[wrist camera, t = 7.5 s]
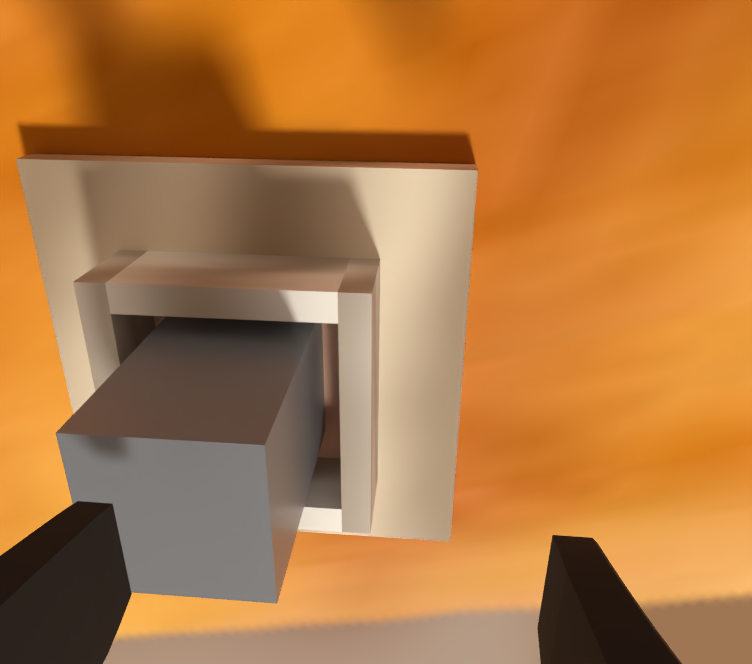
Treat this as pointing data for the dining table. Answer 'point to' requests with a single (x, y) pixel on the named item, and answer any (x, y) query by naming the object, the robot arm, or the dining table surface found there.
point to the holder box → (282, 298)
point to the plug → (205, 453)
